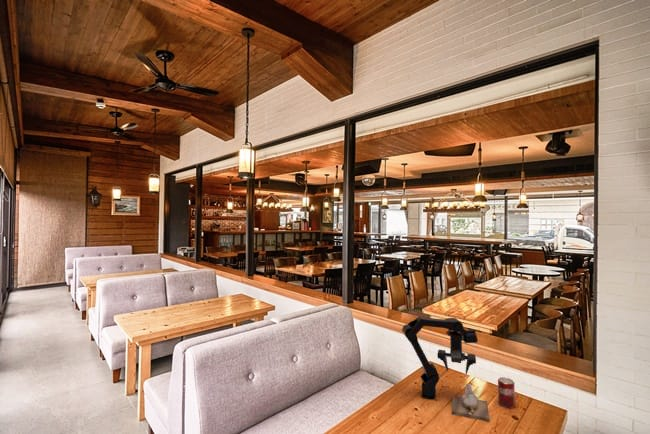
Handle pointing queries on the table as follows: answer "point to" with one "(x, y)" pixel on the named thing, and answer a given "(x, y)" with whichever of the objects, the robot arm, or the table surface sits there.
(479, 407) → the post base
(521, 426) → the table surface
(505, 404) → the soda can
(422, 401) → the table surface
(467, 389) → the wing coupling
